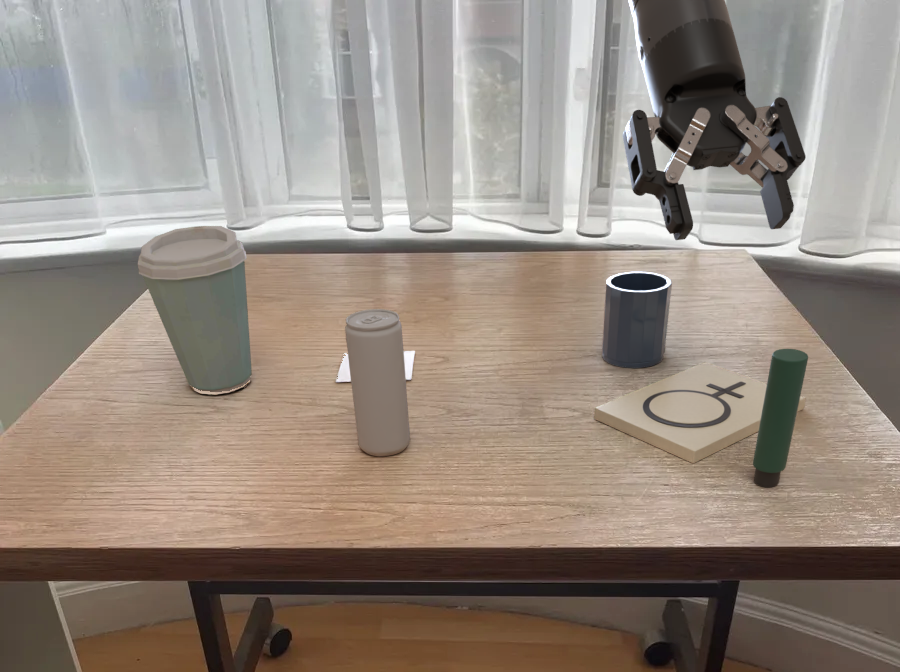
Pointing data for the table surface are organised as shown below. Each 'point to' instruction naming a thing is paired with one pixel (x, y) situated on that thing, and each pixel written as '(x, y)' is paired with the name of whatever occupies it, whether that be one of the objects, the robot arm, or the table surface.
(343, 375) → the white piece
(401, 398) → the beverage can
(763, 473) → the marker
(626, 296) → the pen cup
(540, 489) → the table surface
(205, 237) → the disposable coffee cup
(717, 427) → the drawing board
